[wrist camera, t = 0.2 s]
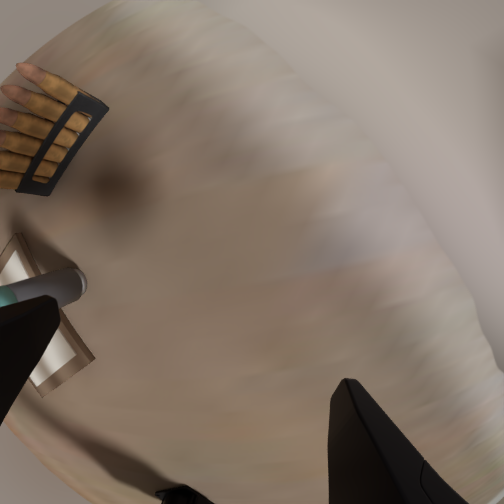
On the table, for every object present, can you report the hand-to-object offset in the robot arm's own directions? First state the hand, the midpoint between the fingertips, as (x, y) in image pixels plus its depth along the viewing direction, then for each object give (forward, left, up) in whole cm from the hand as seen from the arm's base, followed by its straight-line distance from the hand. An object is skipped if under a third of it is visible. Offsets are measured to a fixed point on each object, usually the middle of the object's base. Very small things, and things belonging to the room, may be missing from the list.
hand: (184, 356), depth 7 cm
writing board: (-24, +9, -15) cm, 30 cm away
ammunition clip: (-7, +19, -16) cm, 25 cm away
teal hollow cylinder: (-14, +8, -15) cm, 22 cm away
